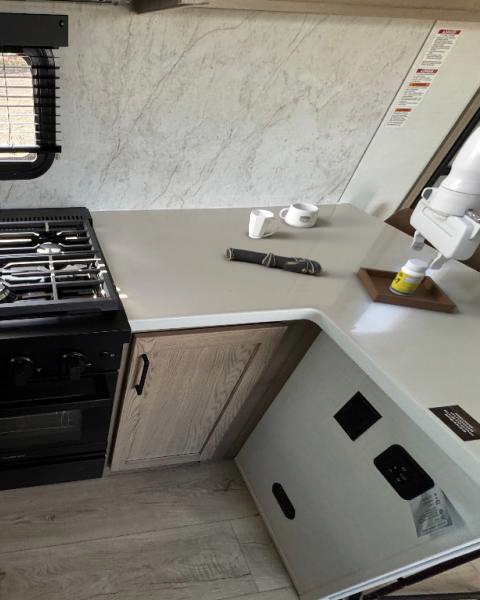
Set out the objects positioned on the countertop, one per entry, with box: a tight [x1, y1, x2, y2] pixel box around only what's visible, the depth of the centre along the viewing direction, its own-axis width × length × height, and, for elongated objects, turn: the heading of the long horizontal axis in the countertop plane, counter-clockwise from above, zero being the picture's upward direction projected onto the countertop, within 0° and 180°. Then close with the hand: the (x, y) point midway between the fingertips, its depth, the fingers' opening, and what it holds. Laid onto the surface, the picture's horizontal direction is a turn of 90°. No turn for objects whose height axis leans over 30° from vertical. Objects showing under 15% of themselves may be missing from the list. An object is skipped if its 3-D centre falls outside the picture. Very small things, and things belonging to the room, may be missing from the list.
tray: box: [356, 266, 457, 314], centre depth 88 cm, size 16×14×2 cm
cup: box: [248, 209, 282, 240], centre depth 113 cm, size 7×10×8 cm
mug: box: [278, 202, 320, 228], centre depth 123 cm, size 12×10×6 cm
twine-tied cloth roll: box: [225, 247, 323, 274], centre depth 99 cm, size 4×5×25 cm
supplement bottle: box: [390, 258, 430, 296], centre depth 86 cm, size 5×5×8 cm
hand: (423, 258), depth 82 cm, fingers open, 8 cm apart
